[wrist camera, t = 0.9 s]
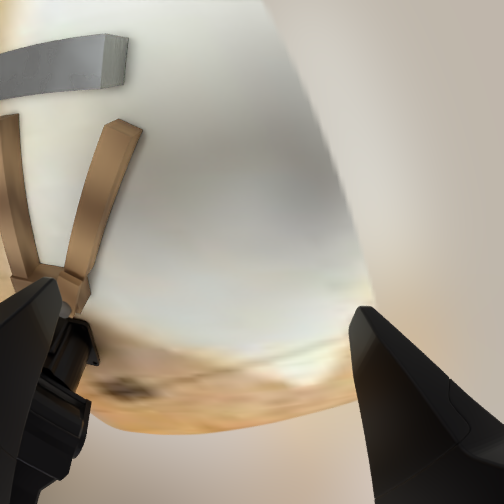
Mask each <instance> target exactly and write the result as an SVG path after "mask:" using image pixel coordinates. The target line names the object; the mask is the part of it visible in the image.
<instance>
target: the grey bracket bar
mask: <svg viewBox="0 0 504 504" xmlns="http://www.w3.org/2000/svg"><path fill="white" fill-rule="evenodd" d="M127 46H128V38H126V37H121V36H116V35H110V34H97V35H89V36H81V37H74V38H68V39H62V40H56V41H51V42H46V43H41V44H36V45H32V46H28V47H24V48H20V49H16V50H12V51H8V52H5V53H1V54H0V100H3V99H8V98H14V97H21V96H27V95H35V94H43V93H52V92H62V91H73V90H88V89H102V88H107V87H113V86H118V85H124V75H125V64H126V55H127Z"/></svg>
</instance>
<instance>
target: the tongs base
mask: <svg viewBox="0 0 504 504" xmlns="http://www.w3.org/2000/svg"><path fill="white" fill-rule="evenodd" d="M0 233H1V237H2V241H3V244H4V248H5V252H6V255H7V259H8V262H9V265H10V268H11V272H12V276H11V277H10V278H11V281H12V284H13V287H14V290H15V292H16V293H17V292H19V291H20V290H22V289H24V288H25V287H27V286H29V285H30V284H32V283H34V282H35V281H37V280H39V279H40V278H42V277H51V278H54V279H56V281H57V279H58V275H59V273H60V272H61V271H63V272H64V268H63V267H57V266H52V265H46V264H40V262H39V258H38V254H37V250H36V246H35V242H34V237H33V232H32V228H31V222H30V217H29V212H28V206H27V200H26V193H25V186H24V179H23V171H22V161H21V150H20V135H19V114H12V115H4V116H0ZM65 273H66V272H65ZM67 274H68V273H67ZM69 275H70V274H69ZM90 294H91V292H90V287H89V282H88V277H86V279H85V280H84V282H83V281H82V284H81V289H80V293H79V298H78V302H77V307H76V312H75V313H81V311H82V309H83V307H84V306H85V304H86V302H87V300H88V298H89V296H90Z"/></svg>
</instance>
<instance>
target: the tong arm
mask: <svg viewBox="0 0 504 504" xmlns="http://www.w3.org/2000/svg"><path fill="white" fill-rule="evenodd" d="M142 131H143V130H142V129H140V128H138V127H135V126H133V125H131V124H129V123H127V122H124V121H122V120H120V119H117V120H115V121H112V122H110V123H108V124H106V125H104V128H103V131H102V133H101V136H100V139H99V141H98V144H97V147H96V150H95V153H94V156H93V158H92V161H91V164H90V168H89V171H88V174H87V177H86V180H85V184H84V187H83V190H82V194H81V197H80V201H79V205H78V208H77V212H76V216H75V220H74V224H73V228H72V232H71V237H70V241H69V246H68V251H67V256H66V261H65V266H64V272H63V271H61V272H60V273H59V275H58V279H57V284H58V287H59V290H60V293H61V297H62V308H61V311H60V314H59V316H60V317H62V318H68V317H71V318H73V317H74V315H75V312H76V307H77V302H78V298H79V293H80V289H81V284H82V281H83V282H84V280H85V279H86V277H87V275H88V274H89V272H90V271H91V269H92V267H93V266H94V263H95V259H96V256H97V252H98V249H99V246H100V242H101V239H102V236H103V233H104V230H105V227H106V223H107V220H108V217H109V215H110V212H111V209H112V206H113V203H114V200H115V197H116V195H117V192H118V189H119V187H120V184H121V181H122V179H123V176H124V174H125V171H126V168H127V166H128V163H129V161H130V159H131V156H132V154H133V151H134V149H135V147H136V144H137V142H138V140H139V137H140V135H141V133H142ZM65 272H66V273H65ZM67 273H68V274H67ZM69 274H70V275H69Z"/></svg>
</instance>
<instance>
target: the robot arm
mask: <svg viewBox="0 0 504 504" xmlns="http://www.w3.org/2000/svg"><path fill="white" fill-rule="evenodd" d="M61 308H62V297H61V293H60V290H59V287H58V284H57V281H56V279H54V278H51V277H42V278H40V279H39V280H37V281H35V282H34V283H32V284H30V285H29V286H27V287H25V288H24V289H22V290H20V291H19V292H17V293H15V294H14V295H12V296H11V297H9V298H7V299H6V300H4V301H3V302H1V303H0V504H37V502H38V498H39V495H40V492H41V490H43V489H44V488H46V487H47V486H49V485H50V484H52V483H53V482H54V481H56V480H59V481H61V480H62V479H63V478H64V477H66V476H67V475H68V473H69V470H70V466H71V461H72V459H74V458H76V457H77V456H78V454H79V453H80V451H81V449H82V447H83V445H84V442H85V439H86V434H87V427H88V421H89V414H90V408H91V403H92V402H91V401H89V400H88V399H84V398H83V397H81V396H79V395H78V394H76V393H75V392H76V389H77V387H78V384H79V381H80V379H81V376H82V373H83V371H84V368H85V366H86V364H90V365H94V366H99V364H100V359H99V356H98V353H97V350H96V347H95V344H94V341H93V337H92V334H91V331H90V327H89V325H88V324H87V323H86V322H84V321H79V320H74V319H70V318H62V317H60V316H59V314H60V311H61ZM349 341H350V350H351V360H352V370H353V378H354V383H355V388H356V393H357V398H358V403H359V407H360V413H361V418H362V423H363V428H364V434H365V440H366V446H367V452H368V458H369V464H370V471H371V476H372V484H373V492H374V498H375V504H504V424H502V423H501V422H500V421H499V420H498V419H496V418H495V417H494V416H493V415H491V414H490V413H489V412H488V411H487V410H485V409H484V408H483V407H482V406H480V405H479V404H478V403H477V402H476V401H474V400H473V399H472V398H471V397H470V396H469V395H468V394H467V393H465V392H464V391H463V390H462V389H461V388H460V387H459V386H458V385H457V384H456V383H454V382H453V381H452V379H449V377H448V376H447V375H446V374H445V373H444V372H443V371H442V370H441V369H440V368H439V367H438V366H437V365H436V364H434V363H433V362H432V361H431V360H430V359H429V358H428V357H427V356H426V355H425V354H424V353H423V352H422V351H421V350H419V349H418V348H417V347H416V346H415V345H414V344H413V343H412V342H411V341H410V340H409V339H407V338H406V337H405V336H404V335H403V334H402V333H401V332H400V331H399V330H398V329H396V328H395V327H394V326H393V325H392V324H391V323H390V322H389V321H388V320H386V319H385V318H384V317H383V316H382V315H381V314H380V313H379V312H377V311H376V310H375V309H374V308H373V307H371V306H359V307H358V308H357V309H356V311H355V314H354V316H353V318H352V321H351V323H350V326H349Z"/></svg>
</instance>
